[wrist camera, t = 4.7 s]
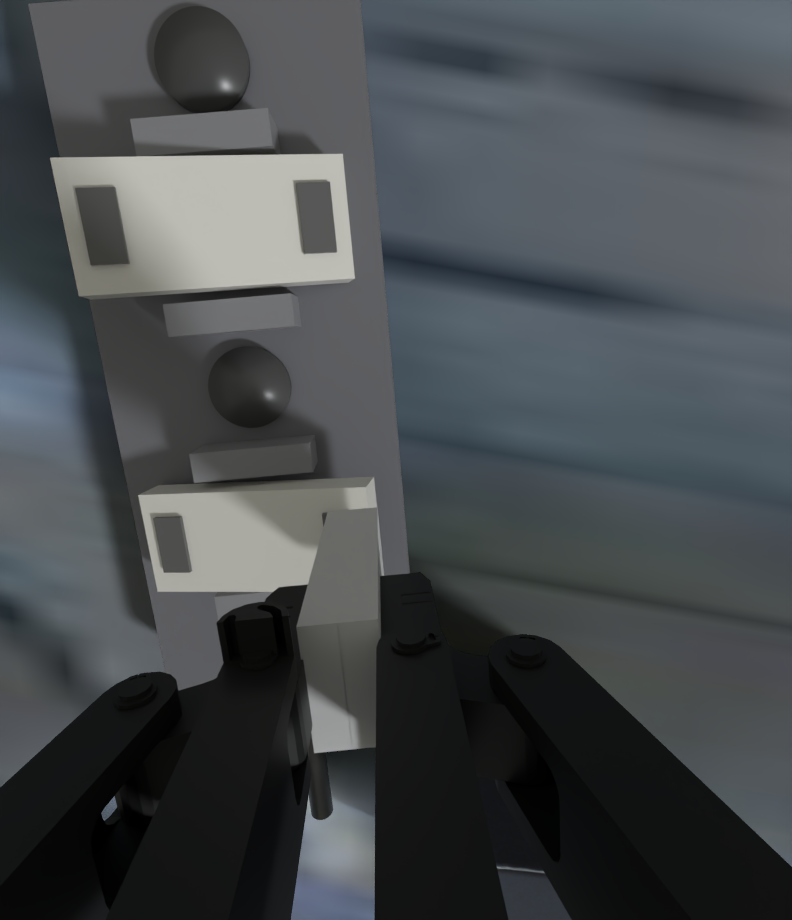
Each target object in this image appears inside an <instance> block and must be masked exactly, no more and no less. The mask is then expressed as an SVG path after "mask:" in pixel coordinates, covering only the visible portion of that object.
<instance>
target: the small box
mask: <svg viewBox="0 0 792 920" xmlns="http://www.w3.org/2000/svg"><path fill="white" fill-rule="evenodd" d="M477 780H478V784H479V789H480V793H481V798H482V802H483V807H484V811H485V816H486V820H487V825H488V829H489V834H490V838H491V843H492V847H493V852H494V856H495V861H496V866H497V870H498V875H499V879H500V884H501V888H502V893H503V897H504V902H505V906H506V911H507V915H508V920H571V918H570V916H569V914H568V913H567V911H566V909H565V907H564V906H563V904H562V902H561V900H560V899H559V897H558V895H557V893H556V892H555V890H554V888H553V886H552V885H551V883H550V881H549V879H548V878H547V876H546V874H545V872H544V871H543V869H542V867H541V866H540V864H539V862H538V860H537V859H536V857H535V855H534V853H533V852H532V850H531V848H530V846H529V845H528V843H527V841H526V839H525V838H524V836H523V834H522V832H521V831H520V829H519V827H518V825H517V824H516V822H515V820H514V818H513V817H512V815H511V813H510V811H509V810H508V808H507V806H506V805H505V803H504V801H503V799H502V798H501V796H500V794H499V792H498V790H497V787H496V783H495V779H491V778H485V777H480V776H477Z"/></svg>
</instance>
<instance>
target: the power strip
mask: <svg viewBox="0 0 792 920" xmlns="http://www.w3.org/2000/svg"><path fill="white" fill-rule="evenodd" d="M28 6H29V11H30V16H31V21H32V25H33V30H34V35H35V40H36V45H37V50H38V55H39V59H40V64H41V69H42V74H43V79H44V84H45V89H46V93H47V98H48V103H49V108H50V113H51V118H52V123H53V128H54V132H55V137H56V142H57V147H58V152H59V157H60V158H62V157H137V156H211V155H285V154H343V162H344V172H345V182H346V192H347V203H348V213H349V223H350V233H351V243H352V254H353V264H354V274H355V279H353V280H352V281H350V282H349V283H334V284H319V285H304V286H289V287H274V288H259V289H243V290H228V291H213V292H198V293H183V294H168V295H152V296H137V297H122V298H107V299H92V300H91V299H89V303H90V308H91V312H92V317H93V322H94V327H95V332H96V337H97V342H98V346H99V351H100V356H101V361H102V366H103V371H104V376H105V380H106V385H107V390H108V395H109V400H110V405H111V410H112V415H113V419H114V424H115V429H116V434H117V439H118V444H119V449H120V453H121V458H122V463H123V468H124V473H125V478H126V483H127V487H128V492H129V497H130V502H131V507H132V512H133V517H134V522H135V526H136V531H137V536H138V541H139V546H140V551H141V556H142V560H143V565H144V570H145V575H146V580H147V585H148V590H149V595H150V599H151V604H152V609H153V614H154V619H155V624H156V629H157V633H158V638H159V643H160V648H161V653H162V658H163V663H164V667H165V672H166V673H167V674H171V675H172V676H173V677H174V678H175V679H176V681H177V686H178V690H182V689H186V688H189V687H192V686H196V685H199V684H203V683H205V682H208V681H211V680H214V679H215V678H217V676H218V673H219V671H220V669H221V667H222V665H223V657H222V652H221V646H220V641H219V635H218V630H217V624H216V623H217V621H218V620H219V619H220V618H221V617H222V616H223V615H224V614H226V613H228V612H229V611H231V610H233V609H235V608H238V607H241V606H243V605H246V604H251V603H257V602H265V600H266V598H267V597H268V596H269V595H270V594H271V593H273V592H158V591H157V586H156V581H155V576H154V571H153V566H152V561H151V557H150V552H149V547H148V542H147V537H146V532H145V527H144V522H143V517H142V512H141V507H140V502H139V497H138V495H139V494H141V493H143V492H146V491H148V490H150V489H152V488H154V487H156V486H158V485H175V484H201V483H228V482H254V481H280V480H306V479H332V478H359V477H374V482H375V492H376V502H377V508H378V518H379V528H380V538H381V548H382V559H383V569H384V576H386V575H397V574H408V573H410V570H409V558H408V546H407V535H406V523H405V512H404V500H403V488H402V477H401V465H400V454H399V442H398V431H397V419H396V407H395V396H394V384H393V373H392V361H391V349H390V338H389V326H388V315H387V303H386V292H385V280H384V268H383V257H382V245H381V234H380V222H379V211H378V199H377V187H376V176H375V164H374V153H373V141H372V129H371V118H370V106H369V95H368V83H367V72H366V60H365V48H364V37H363V25H362V14H361V2H360V0H69V1H56V2H43V3H30V4H28ZM308 752H309V759H310V766H311V781H310V788H309V799H310V806H311V813H312V816H313V817H314V818H315V819H317V820H323V819H326V818H327V817H329V816H330V815H331V813H332V811H333V805H332V798H331V790H330V783H329V776H328V768H327V761H326V753H325V752H322V753H314V748H313V741H312V734H311V737H310V743H309V749H308Z"/></svg>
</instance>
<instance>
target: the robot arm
mask: <svg viewBox="0 0 792 920" xmlns="http://www.w3.org/2000/svg"><path fill="white" fill-rule="evenodd" d="M216 624H217V630H218V635H219V641H220V646H221V652H222V657H223V665H222V667H221V669H220V671H219V673H218V676H217V678H215V679H214V680H211V681H208V682H205V683H203V684H199V685H196V686H192V687H189V688H186V689H182V690H178V686H177V681H176V679H175V678H174V677H173V676H172V675H171V674H167V673H163V672H151V673H142V674H139V675H138V674H137V675H134V676H131V677H129V678H128V679H126V680H124V681H122V682H119V683H117V684H116V685H114V686H113V687H111V688H110V689H109V690H107V691H106V692H104V693H103V694H102V695H101V696H100V697H99V698H98V699H97V700H96V701H95V702H93V703H92V704H91V705H90V706H89V707H88V708H87V709H86V710H85V711H84V712H82V713H81V714H80V715H79V716H78V717H77V718H76V719H75V720H74V721H73V722H72V723H70V724H69V725H68V726H67V727H66V728H65V729H64V730H63V731H62V732H61V733H60V734H58V735H57V736H56V737H55V738H54V739H53V740H52V741H51V742H50V743H49V744H47V745H46V746H45V747H44V748H43V749H42V750H41V751H40V752H39V753H38V754H37V755H35V756H34V757H33V758H32V759H31V760H30V761H29V762H28V763H27V764H26V765H25V766H23V767H22V768H21V769H20V770H19V771H18V772H17V773H16V774H15V775H14V776H12V777H11V778H10V779H9V780H8V781H7V782H6V783H5V784H4V785H3V786H2V787H0V920H291V913H292V906H293V899H294V892H295V885H296V878H297V871H298V864H299V857H300V850H301V843H302V836H303V829H304V823H305V816H306V809H307V802H308V795H309V788H310V781H311V766H310V759H309V752H308V749H309V743H310V737H311V734H312V741H313V748H314V753H322V752H332V751H342V750H352V749H362V748H372V747H376V788H375V920H508V915H507V911H506V906H505V902H504V897H503V893H502V888H501V884H500V879H499V875H498V870H497V866H496V861H495V856H494V852H493V847H492V843H491V838H490V834H489V829H488V825H487V820H486V816H485V811H484V807H483V802H482V798H481V793H480V789H479V784H478V780H477V776H480V777H485V778H491V779H495V783H496V787H497V790H498V792H499V794H500V796H501V798H502V799H503V801H504V803H505V805H506V806H507V808H508V810H509V811H510V813H511V815H512V817H513V818H514V820H515V822H516V824H517V825H518V827H519V829H520V831H521V832H522V834H523V836H524V838H525V839H526V841H527V843H528V845H529V846H530V848H531V850H532V852H533V853H534V855H535V857H536V859H537V860H538V862H539V864H540V866H541V867H542V869H543V871H544V872H545V874H546V876H547V878H548V879H549V881H550V883H551V885H552V886H553V888H554V890H555V892H556V893H557V895H558V897H559V899H560V900H561V902H562V904H563V906H564V907H565V909H566V911H567V913H568V914H569V916H570V918H571V920H792V867H791V866H790V865H789V864H788V863H787V862H786V861H785V860H784V859H783V858H782V857H781V856H780V855H779V854H778V853H777V852H775V851H774V850H773V849H772V848H771V847H770V846H769V845H768V844H767V843H766V842H765V841H764V840H763V839H762V838H761V837H760V836H759V835H758V834H756V833H755V832H754V831H753V830H752V829H751V828H750V827H749V826H748V825H747V824H746V823H745V822H744V821H743V820H742V819H741V818H740V817H739V816H738V815H736V814H735V813H734V812H733V811H732V810H731V809H730V808H729V807H728V806H727V805H726V804H725V803H724V802H723V801H722V800H721V799H720V798H719V797H718V796H716V795H715V794H714V793H713V792H712V791H711V790H710V789H709V788H708V787H707V786H706V785H705V784H704V783H703V782H702V781H701V780H700V779H699V778H698V777H696V776H695V775H694V774H693V773H692V772H691V771H690V770H689V769H688V768H687V767H686V766H685V765H684V764H683V763H682V762H681V761H680V760H679V759H678V758H676V757H675V756H674V755H673V754H672V753H671V752H670V751H669V750H668V749H667V748H666V747H665V746H664V745H663V744H662V743H661V742H660V741H659V740H658V739H656V738H655V737H654V736H653V735H652V734H651V733H650V732H649V731H648V730H647V729H646V728H645V727H644V726H643V725H642V724H641V723H640V722H639V721H637V720H636V719H635V718H634V717H633V716H632V715H631V714H630V713H629V712H628V711H627V710H626V709H625V708H624V707H623V706H622V705H621V704H620V703H619V702H617V701H616V700H615V699H614V698H613V697H612V696H611V695H610V694H609V693H608V692H607V691H606V690H605V689H604V688H603V687H602V686H601V685H600V684H599V683H597V682H596V681H595V680H594V679H593V678H592V677H591V676H590V675H589V674H588V673H587V672H586V671H585V670H584V669H583V668H582V667H581V666H580V665H579V664H577V663H576V662H575V661H574V660H573V659H572V658H571V657H570V656H569V655H568V654H567V653H566V652H565V651H564V650H563V649H562V648H561V647H559V646H558V645H556V644H555V643H553V642H552V641H550V640H548V639H545V638H542V637H539V636H535V635H527V634H520V635H514V636H508V637H505V638H503V639H500V640H498V641H497V642H495V643H494V644H493V645H492V646H491V647H490V650H489V654H488V656H479V655H472V654H467V653H464V652H461V651H458V650H456V649H454V648H452V647H451V646H449V645H448V644H447V640H446V639H445V637H444V635H443V634H442V633H441V629H440V624H439V620H438V615H437V610H436V606H435V602H434V596H433V592H432V587H431V583H430V580H429V579H427V578H426V577H425V576H424V575H422V574H421V573H420V572H418V573H408V574H397V575H386V576H384V569H383V559H382V548H381V538H380V528H379V518H378V508H377V507H374V508H363V509H353V510H342V511H331V512H328V513H327V516H326V520H325V524H324V527H323V531H322V535H321V538H320V542H319V546H318V549H317V553H316V557H315V560H314V564H313V568H312V571H311V575H310V579H309V582H308V584H307V585H297V586H286V587H278V588H277V589H276V590H275V591H274V592H273V593H271V594H270V595H269V596H268V597H267V598H266V600H265V602H257V603H251V604H246V605H243V606H241V607H238V608H235V609H233V610H231V611H229V612H228V613H226V614H224V615H223V616H222V617H221V618H220V619H219V620H218V621H217V623H216ZM114 796H115V799H116V803H117V808H116V810H115V811H114V812H113V813H112V815H111V816H110V817H109V818H108V819H106V820H105V821H104V820H103V819H102V815H101V812H102V811H103V809H104V808H105V806H106V805H107V804H108V803H109V802H110V800H111V799H112V798H113V797H114Z"/></svg>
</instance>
